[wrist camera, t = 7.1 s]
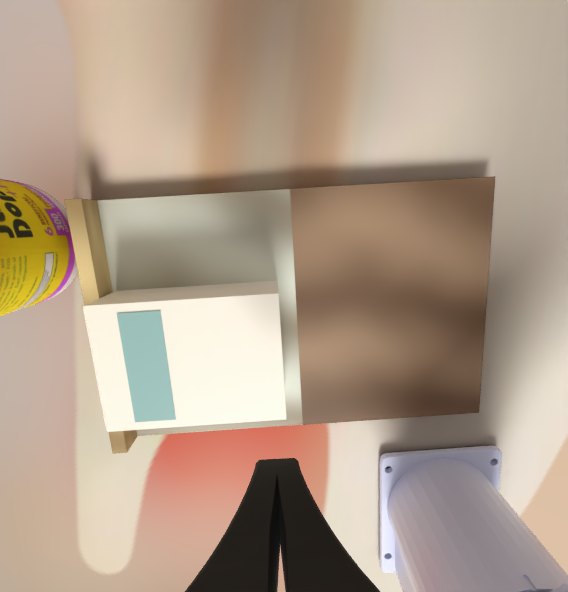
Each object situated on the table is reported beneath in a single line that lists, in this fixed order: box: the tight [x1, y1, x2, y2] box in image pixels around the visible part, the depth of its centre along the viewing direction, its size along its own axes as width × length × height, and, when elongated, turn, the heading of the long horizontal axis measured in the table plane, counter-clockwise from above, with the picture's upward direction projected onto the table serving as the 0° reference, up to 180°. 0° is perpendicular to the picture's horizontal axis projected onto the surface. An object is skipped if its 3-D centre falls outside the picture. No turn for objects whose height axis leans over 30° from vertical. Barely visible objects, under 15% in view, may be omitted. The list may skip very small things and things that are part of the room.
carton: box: [83, 281, 286, 432], centre depth 18 cm, size 6×9×4 cm
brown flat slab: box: [65, 177, 495, 453], centre depth 20 cm, size 14×22×2 cm, turn 93°
